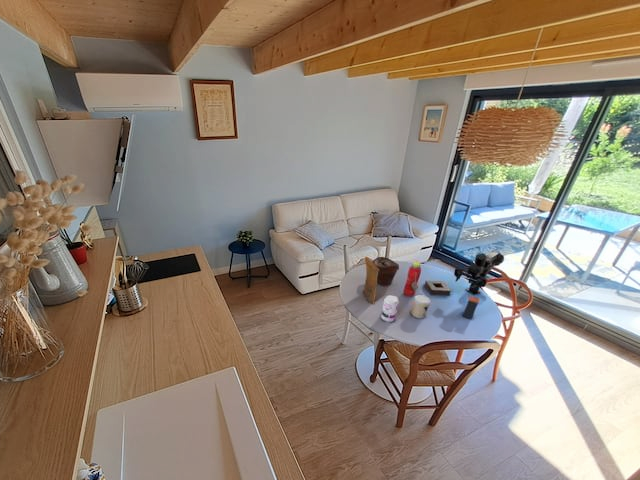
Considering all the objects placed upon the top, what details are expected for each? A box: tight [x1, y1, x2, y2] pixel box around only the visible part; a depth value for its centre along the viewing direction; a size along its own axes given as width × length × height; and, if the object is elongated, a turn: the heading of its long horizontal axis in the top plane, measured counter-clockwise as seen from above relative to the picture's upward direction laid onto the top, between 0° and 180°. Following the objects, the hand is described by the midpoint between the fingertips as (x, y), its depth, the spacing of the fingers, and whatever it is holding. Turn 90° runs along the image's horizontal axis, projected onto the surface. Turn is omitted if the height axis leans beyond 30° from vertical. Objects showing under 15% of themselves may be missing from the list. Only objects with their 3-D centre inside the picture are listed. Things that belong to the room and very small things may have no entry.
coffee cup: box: [410, 294, 431, 319], centre depth 177 cm, size 9×9×12 cm
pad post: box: [462, 295, 480, 320], centre depth 175 cm, size 5×5×13 cm
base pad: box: [424, 280, 452, 296], centre depth 203 cm, size 13×13×4 cm
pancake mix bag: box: [363, 255, 379, 304], centre depth 191 cm, size 7×19×28 cm, turn 2°
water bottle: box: [403, 261, 422, 297], centre depth 192 cm, size 12×8×25 cm, turn 167°
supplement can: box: [380, 294, 400, 323], centre depth 173 cm, size 8×8×15 cm
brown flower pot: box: [372, 256, 400, 287], centre depth 211 cm, size 18×20×18 cm
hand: (463, 284), depth 181 cm, fingers open, 9 cm apart
